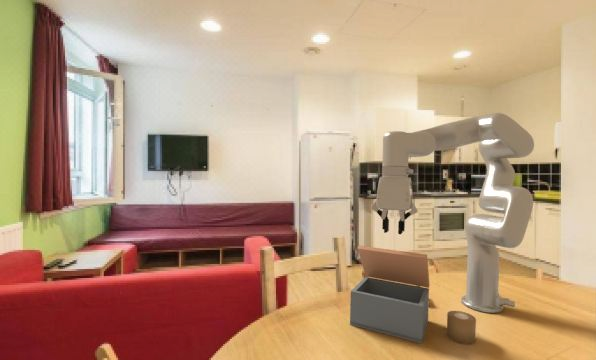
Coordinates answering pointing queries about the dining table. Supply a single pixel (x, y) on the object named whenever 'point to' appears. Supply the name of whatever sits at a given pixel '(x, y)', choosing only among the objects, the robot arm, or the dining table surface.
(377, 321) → the box
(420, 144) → the robot arm
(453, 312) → the brown squat cylinder
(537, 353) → the dining table surface
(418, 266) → the lid
